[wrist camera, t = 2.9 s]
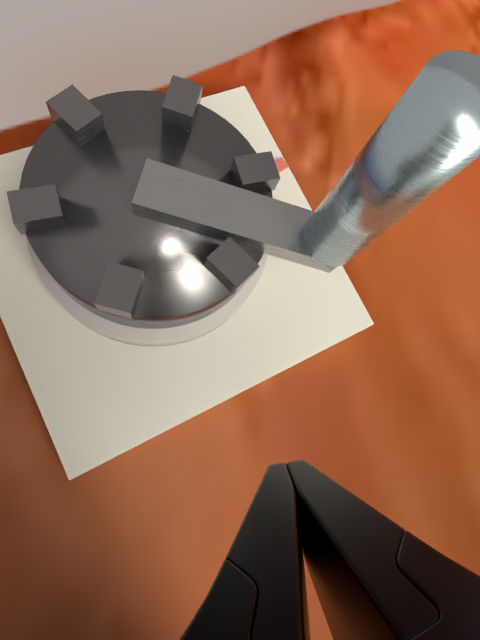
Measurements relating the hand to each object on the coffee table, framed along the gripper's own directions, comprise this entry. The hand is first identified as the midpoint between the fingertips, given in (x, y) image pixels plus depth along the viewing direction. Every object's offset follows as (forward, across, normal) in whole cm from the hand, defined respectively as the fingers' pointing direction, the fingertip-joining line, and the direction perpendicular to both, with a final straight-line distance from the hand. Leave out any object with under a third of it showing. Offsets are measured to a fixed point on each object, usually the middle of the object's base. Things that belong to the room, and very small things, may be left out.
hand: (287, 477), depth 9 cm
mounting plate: (+16, -4, +3) cm, 16 cm away
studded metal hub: (+13, -2, +4) cm, 14 cm away
